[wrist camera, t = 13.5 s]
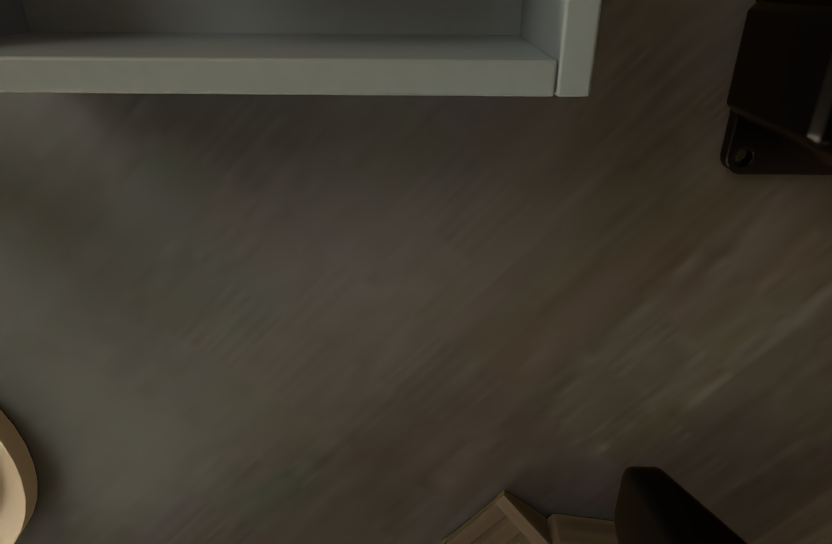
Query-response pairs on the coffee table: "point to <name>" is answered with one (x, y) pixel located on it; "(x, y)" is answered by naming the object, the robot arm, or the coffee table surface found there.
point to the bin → (300, 47)
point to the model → (529, 526)
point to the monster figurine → (15, 483)
